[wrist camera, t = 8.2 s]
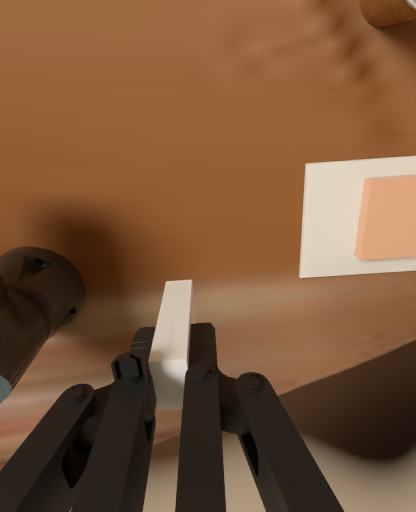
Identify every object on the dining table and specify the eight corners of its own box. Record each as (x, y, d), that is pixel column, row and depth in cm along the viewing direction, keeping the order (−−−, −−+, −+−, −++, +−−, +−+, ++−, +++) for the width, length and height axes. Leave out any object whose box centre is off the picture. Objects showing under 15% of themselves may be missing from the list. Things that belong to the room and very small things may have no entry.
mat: (299, 276, 51) (300, 277, 50) (305, 163, 44) (307, 164, 43) (433, 267, 51) (436, 269, 50) (462, 152, 43) (466, 152, 43)
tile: (360, 260, 47) (439, 255, 47) (371, 180, 42) (460, 174, 42) (354, 254, 49) (430, 249, 49) (364, 177, 44) (449, 171, 44)
